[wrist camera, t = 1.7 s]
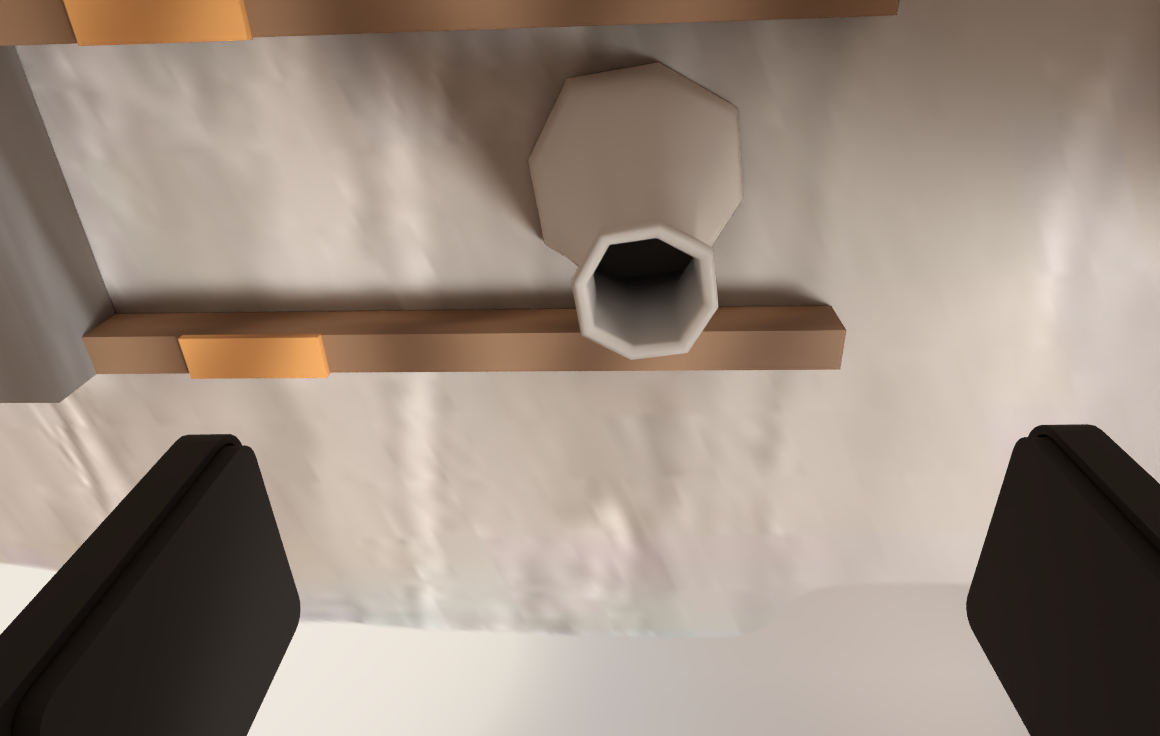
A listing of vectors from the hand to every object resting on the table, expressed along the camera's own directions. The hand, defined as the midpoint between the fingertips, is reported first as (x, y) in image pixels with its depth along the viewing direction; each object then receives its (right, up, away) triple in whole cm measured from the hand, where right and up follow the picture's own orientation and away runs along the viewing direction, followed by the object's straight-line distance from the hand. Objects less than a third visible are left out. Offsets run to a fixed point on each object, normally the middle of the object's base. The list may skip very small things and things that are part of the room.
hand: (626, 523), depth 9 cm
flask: (+1, +8, +15) cm, 17 cm away
